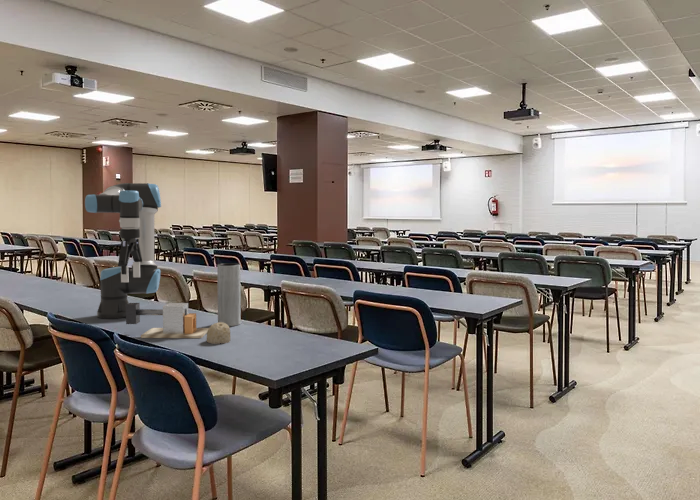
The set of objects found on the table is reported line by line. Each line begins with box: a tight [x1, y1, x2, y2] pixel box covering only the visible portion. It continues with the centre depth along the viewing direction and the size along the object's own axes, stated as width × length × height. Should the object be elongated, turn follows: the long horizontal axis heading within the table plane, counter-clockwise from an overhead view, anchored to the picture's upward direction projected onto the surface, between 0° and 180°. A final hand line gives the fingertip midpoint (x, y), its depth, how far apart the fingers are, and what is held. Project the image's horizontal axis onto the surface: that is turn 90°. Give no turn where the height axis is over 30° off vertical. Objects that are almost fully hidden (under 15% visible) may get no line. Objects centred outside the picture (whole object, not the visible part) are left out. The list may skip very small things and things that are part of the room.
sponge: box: [206, 322, 231, 345], centre depth 214 cm, size 9×10×10 cm
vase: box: [216, 262, 242, 327], centre depth 245 cm, size 10×10×27 cm
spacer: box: [184, 312, 197, 334], centre depth 225 cm, size 3×7×7 cm, turn 2°
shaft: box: [125, 302, 163, 325], centre depth 224 cm, size 22×4×8 cm, turn 92°
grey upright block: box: [162, 302, 189, 334], centre depth 225 cm, size 8×8×11 cm
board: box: [140, 327, 210, 339], centre depth 225 cm, size 24×14×1 cm, turn 92°
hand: (130, 279), depth 226 cm, fingers open, 13 cm apart
